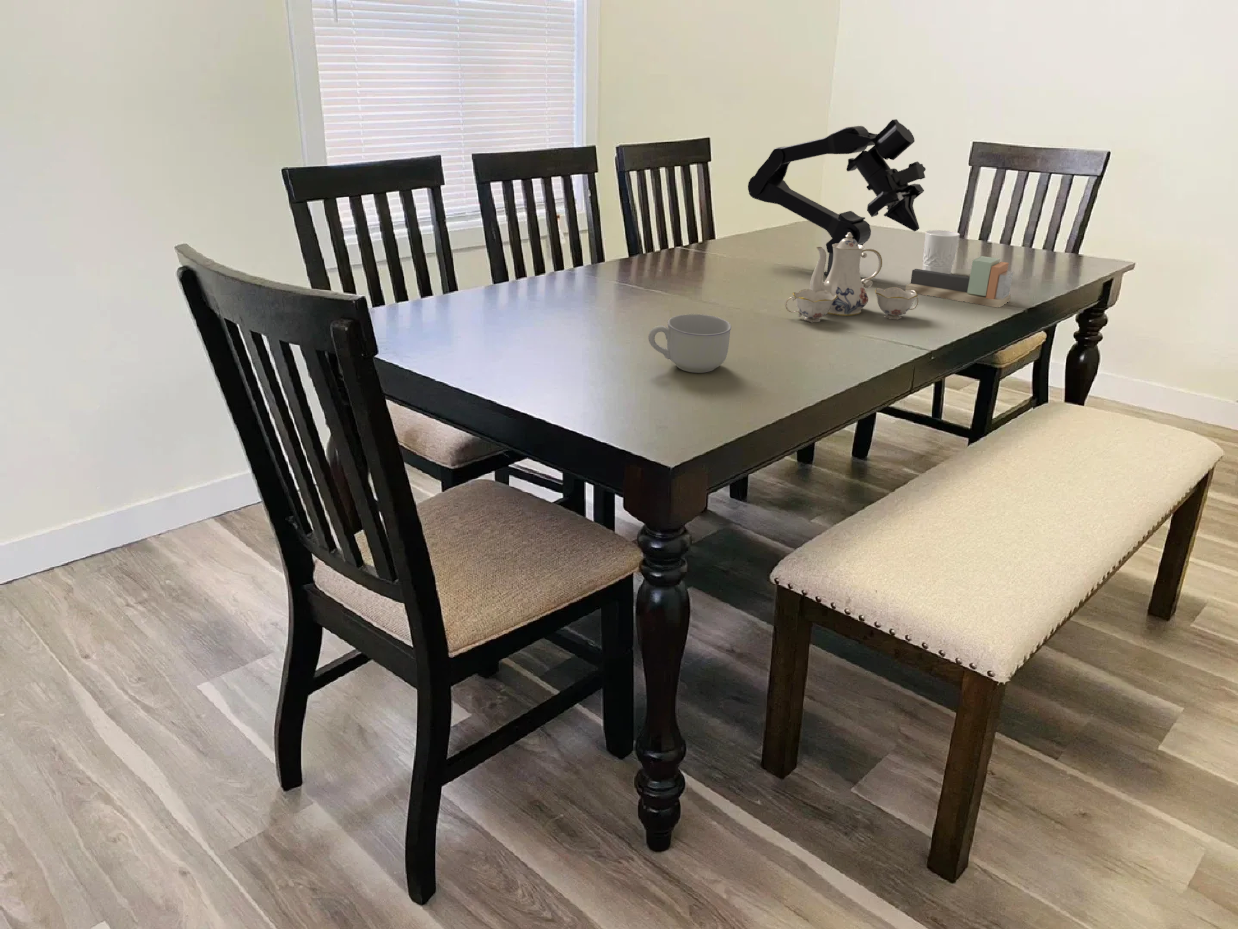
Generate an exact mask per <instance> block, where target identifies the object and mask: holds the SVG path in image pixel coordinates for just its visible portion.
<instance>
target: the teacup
mask: <svg viewBox="0 0 1238 929" xmlns="http://www.w3.org/2000/svg"><path fill="white" fill-rule="evenodd" d="M731 330H732V324H731V322H729V321H727V320H726V319H724V318H722V317H719V316H715V315H712V314H711V315H710V314H705V313H704V314H703V313H702V314H701V313H686V314H683V313H682V314H678V315H674V316H671V317H670V318H669V319H668V320H667V327H666V326H665V325H661V324H659V325H656V326H653V327H652V328H651V329H650V331H649V333H648V342H649V344H650V346H651V347H652V348H653V349H654V350H655V351H656V352H659V353H660V354H662V355H663V356H664V358H665V359H667V360H670V361H671V362H672V363H673V364H674V365H675V367H677V368H678V369H680V370H682V371H684V372H689V373H695V374H697V373H698V374H704V373H710V372H712V371H714V370H715V369H717V368H718V367H719V366H721V365H722V364H723V363H724V362H725V361H726V360H727V356H728V352H729V347H730V338H731V337H730V335H731ZM657 333H663V334H664V336H665V339H666V348H665V347H663V346H660V345H659V344H658V343H657V342H656V340H655V339H656V338H655V337H656V335H657Z"/></svg>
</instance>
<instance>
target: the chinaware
mask: <svg viewBox="0 0 1238 929" xmlns="http://www.w3.org/2000/svg"><path fill="white" fill-rule="evenodd" d="M852 237H853V236H852V235H851V232H849V233H848V234H847V235H846V238H844V239H842V240H841V241H840V243H835V244H832V246H833V263H832V267H831V270H830V272H829V275H828V276H826V278H825V280H824V272H825V269H826V268H825V267H826V263H827V253H826V250H825V249H824V248H823V247H822V246H816V249H817V251H818V254H819V257H818V259H817V263H816V265H815V268H814V270H813V272H812V274H811V277H810V282H809V289H807V288H805V289H801V290H800V291H799V292H792V296H791V297H789V298H788V299H787V300H786V301H785V304H784V305H785V306H784V307H785V309H786V310H787V312H788V313H793V314H794V313H798V314H797V317H799V318H800V317H802V316H804V322H805V321H806V322H810V323H821V318H823V317H824V316H826V315H827V314H829V315H833V316H834V315H835V316H846V317H847V316H856V315H860V314H861V313H862V309H863V308H864V307H865V306H866V305H868V303H869V296H868V294H867V291H866V290H865V289H869V288H871V286H872V285H873V281H872V279H874V278H876V276H877V275H878V274H879V273H880V272H881V270H882V267H883V258H882V255H881V253H880V252H879V251H878V250H875V249H874V248H865V246H863V245H864V244H863V245H859V244H858V243H857V241H856V240H855V239H852ZM866 252H871V253H873V254H875V255H876V256H877V258H878V266H877V268H876V270H875V271H874V273H873V274H872V275H870V276H867V277H864V278H861V272H860V271H861V270H860V266H861V265H860V264H861V258H862V259H866V258H867V257H868V254H867V253H866ZM823 280H824V282H823ZM874 293H875V296H876V299H877V304H878V308H879V309H880V311H881V312H883V313H884V314H885V315H884V316H883V317H884V318H886V319H888V320H899V319H902V318H903V317H902V315H906V314H907V312H908V311H913V310H915V309H916V308H917V307H918V305H919V294H917V292H916V291H914V290H907V291H905V290H904V289H902V288H900V287H896V286H891V287H887V288H885V289H883V288H882V287H881V288H880V287H877V288H876V289H875V290H874ZM791 299H792V301H793V302H794V301H796V307H797V310H794V311H792V310H790V309H789V308H788V306H787V303H788V301H789V300H791ZM915 299H916V303H915V305H914V306H913V303H914V301H915ZM912 306H913V307H912Z"/></svg>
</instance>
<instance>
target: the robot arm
mask: <svg viewBox="0 0 1238 929" xmlns="http://www.w3.org/2000/svg"><path fill="white" fill-rule="evenodd" d="M914 143H915V136H914V135H913V133H912V131H911V130H910V129H908V128H907V127H906V126H905V125H904V124H902V123H900V122H899V120H898V119H891V120H890V121H889V122H888V123H887V124H886V126H885V127H883V129H882V130H880V131H879V133H873V132H869V130H868V129H867V127H866V128H865V126H863V125H854V126H847V127H843V128H841V129H839V130H836V131H835V132H833V133H831V134H829V135H827V136H825V137H822V138H818V139H814V140H811V141H810V140H809V141H806V142H802V143H796V144H792V145H788V146H780V147H776V148H773V150H772V151H771V152H770V154H769V156H768V157H767V159H766V160H765V161H764V162H763V164H761V165H760V167H758V169H757V171H756V172H755V174H754V175H752V176H751V178H750V179H749V180H748V183H747V190H748V194H749V196H750V197H751V198H752V199H754V200H757V201H760V202H764V203H768V204H769V203H770V204H775V205H779V206H780V207H783V208H785V209H786V210H788V211H790V212H791V213H794V214H795V215H798V216H799V217H801V218H803V219H805V220H807V221H809V223H812V224H815V225H816V226H817V227H819V228H822V229H824V230H825V231H826V232H827V233H828V235H829V236H830V237H831V239H830V240H829V241H827V242H826V244H825V247H826V251H827V253H828V260H827V268H826V269H827V270H826V271H824V274H823V276H826V277H828V275H829V272H830V270H831V267H832V263H833V246H832V244H835V243H840V241H841V240H842V239H844V238H846V235H847V234H848V233H849V232H851V235H852V236H853V237H852V239H855V240H856V241H857V243H858V244H859V245H864V244H866V243H867V242H868V241H869V239H870V238H871V235H872V229H871V225H870V224H869V222H868V221H866V217H864V216H859V215H858V214H856V213H855V212H854V211H852V210H848V211H844V212H840V213H837V212H835V211H834V210H833V211H832V210H831V209H829V208H827V207H825V206H823V205H822V204H820V203H818V202H816V201H814V200H813V199H811V198H808V197H806V196H805V195H802V194H801V193H799V192H797V191H795V190H793V189H792V188H790V186H789V185H788V184H787V182H786V180H784V179H785V177H786V174H787V172H788V168H789V165H790V164H791V162H796V161H801V160H805V159H810V158H815V157H818V156H819V157H820V156H824V155H849V154H850V155H851V154H856V153H858V155H856V157H854V158H853V157H852V158H848V159H847V166H846V168H845V169H846V172H853V171H856V170H858V172H859V173H860V175H861V176H862V178H863V179H864V181H865V182H866V183H867V184H868V185H867V186H866V190H868V191H872V192H873V193H874V195H875V196H876V197H875V198H874V199H872V200H870V202H869V203H867V208H866V212H868V214H869V215H870V217H871V218H874V217H877V216H878V215H879V212H880V211H881V210H882V209H883V208H885V207H886V210H887V211H886V212H885V213H884V214H883V216H884V218H885V217H886V218H889V219H891V220H893V221H895V222H896V223H898V224H900V225H902V226H904V227H905V228H907V229H909V230H910V231H913V232H917V231H918V230H920V225H919V222H918V220H917V219H918V218H917V216H916V213H915V209H914V201H915V199H917V198H918V197H919V196H921V194H923V193H924V192H925V189H924V188H923V186H922V185H921V184H920V183H912V182H914V181H917V180H924V179H925V178H926V175H925V172H926V167H925V166H924V164H923V163H920V162H919V161H915V162H912V163H909V164H908V167H907V168H904V169H901V170H898V169H897V168H895V167H893V168H891V166H889V165H888V163H887V160H891V161H894V160H896V159H897V158H898V157H899V156H900V155H901V154H903V153H904V152H905V151H906V150H907V149H908V148H909V147H910V146H912V145H913V144H914ZM870 146H871V148H870V149H868V150H867V148H868V147H870ZM909 183H912V184H909Z"/></svg>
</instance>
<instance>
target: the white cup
mask: <svg viewBox="0 0 1238 929" xmlns="http://www.w3.org/2000/svg"><path fill="white" fill-rule="evenodd" d="M960 235H961V234H960V233H959V232H956V231H951V230H943V229H933V230H932V229H930V230H929V229H928V230H927V231H925V234H924V244H923V252H922V269H921V270H927V271H934V272H940V273H947V274H952V268H953V265H954V262H955V258H956V253H957V250H958V245H959V242H960V241H959V239H960Z"/></svg>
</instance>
